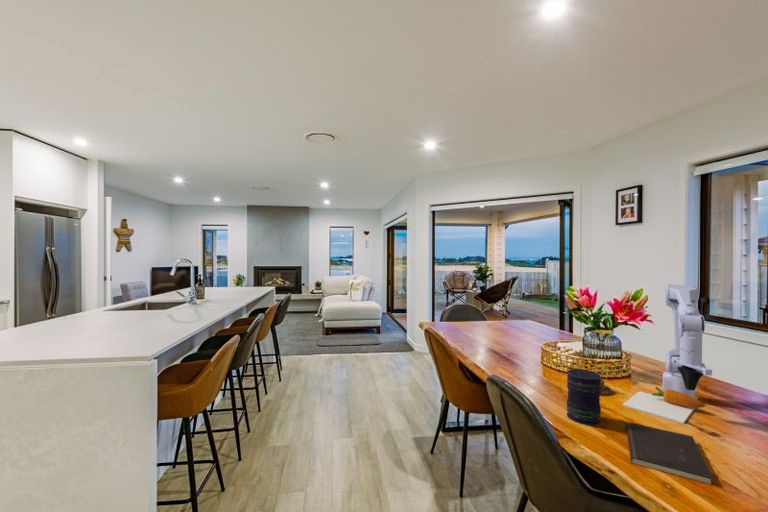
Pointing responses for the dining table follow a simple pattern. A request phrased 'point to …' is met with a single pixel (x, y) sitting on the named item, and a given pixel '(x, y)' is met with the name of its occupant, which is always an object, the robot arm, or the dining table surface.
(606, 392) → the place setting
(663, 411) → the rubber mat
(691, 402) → the carrot
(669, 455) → the hardcover book
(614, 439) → the dining table surface
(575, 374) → the storage jar
